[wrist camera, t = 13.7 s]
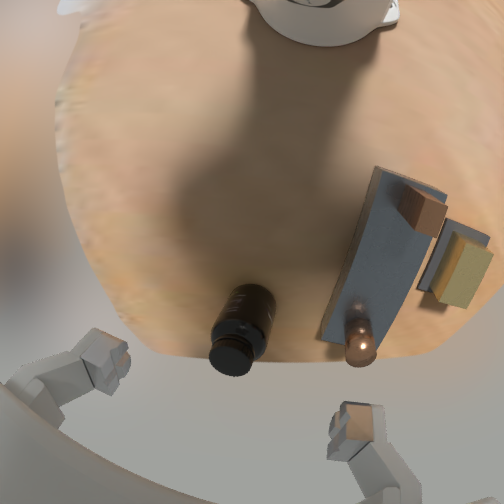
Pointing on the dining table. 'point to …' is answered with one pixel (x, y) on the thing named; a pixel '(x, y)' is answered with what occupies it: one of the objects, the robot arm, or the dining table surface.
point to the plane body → (382, 262)
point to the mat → (441, 247)
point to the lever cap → (460, 270)
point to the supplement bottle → (242, 329)
